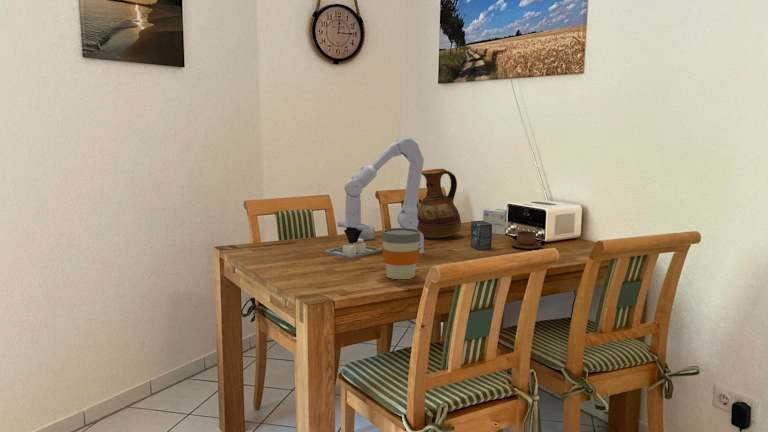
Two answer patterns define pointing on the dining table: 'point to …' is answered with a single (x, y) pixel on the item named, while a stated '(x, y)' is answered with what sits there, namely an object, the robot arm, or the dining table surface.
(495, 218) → the light bulb box
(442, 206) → the ceramic pitcher
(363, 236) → the ceramic mug
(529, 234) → the cup and saucer
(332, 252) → the grey flat tray
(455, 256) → the dining table surface
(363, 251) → the tab middle
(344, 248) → the tab
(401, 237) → the reusable coffee cup
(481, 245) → the box
